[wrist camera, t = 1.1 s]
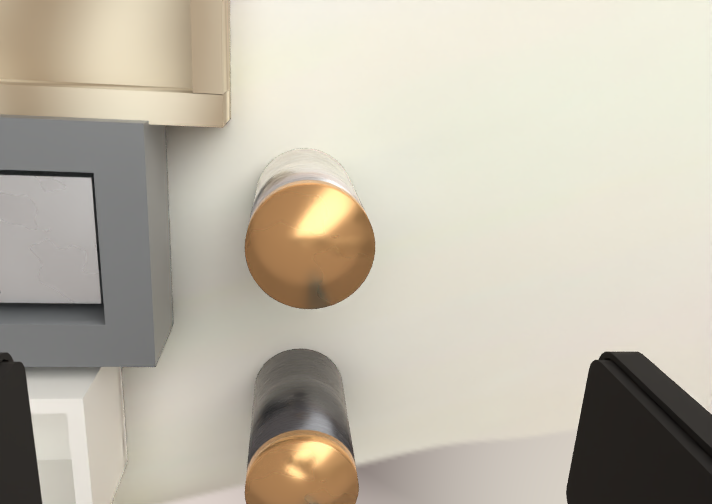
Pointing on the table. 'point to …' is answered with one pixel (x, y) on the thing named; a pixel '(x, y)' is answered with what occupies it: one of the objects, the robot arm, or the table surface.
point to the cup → (78, 432)
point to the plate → (49, 238)
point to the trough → (117, 60)
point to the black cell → (300, 434)
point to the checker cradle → (116, 243)
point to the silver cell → (308, 231)
